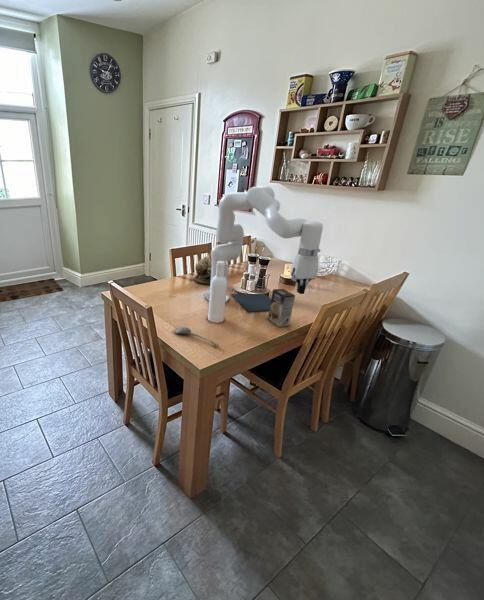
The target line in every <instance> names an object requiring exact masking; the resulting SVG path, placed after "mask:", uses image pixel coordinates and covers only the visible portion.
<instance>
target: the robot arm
mask: <svg viewBox="0 0 484 600" xmlns="http://www.w3.org/2000/svg"><path fill="white" fill-rule="evenodd" d="M252 209H254V210H256V211H257V212H258V213H259V214H260V215H262V216H263V217H264V218H265V222H266V224H267V227H268V228H269V229H270V230H271V231H272V232H273V233H274V234H276V235H277V236H278V237H280V238H281V239H292V238H299V237H300V240H299V244H298V252H297V253H296V254H295V256H294V258H293V261H292V264H291V268H290V277H291V278H290V280H291V281H292V282H295V283H296V284H297V288H296V292H297V293H298V294H299V295H304V294H305V292H306V289H307V286H308V284H309V283H310V282H312V281H315V279H316V277H317V275H318V271H319V255H318V254H319V253H321V248H320V245H321V244H320V243H321V239H322V234H323V229H324V225H323V223H322V222H320V221H314V220H313V221H312V220H311V221H310V220H308V219H305V218H293V219H286V218H285V217H284V216H282V215H281V214H280V213H279V211H280V209H281V203H280V201H279V200H277V199H276V198H275V191H274V189H273V188H272V187H271V186H268V185H260V186H252V187H250V188H249V189H248V190H247V191H242V192H230V193H227V194H224V195H223V196H222V197H221V198H220V200H219V203H218V219H217V224H216V225H217V226H216V233H215V239H216V241H217V242H218V243H220V244H217V245H215V246H213V247H212V249H211V250H210V261H212V268H211V281H212V279H213V277H215V276H216V268H217V265H216V264H217V262H218V261H223V262H225V266H224V277H225V278H226V280H227V284H228V281H229V271H230V270H229V269H230V268H229V266H228V262H230V261H234V260H237V259H238V258H239V257H240V256H241V253H242V248H243V243H244V237H245V230H244V228H243V226H242V225H241V224H240V223H237V222H235V220H236V215H235V211H246V210H252ZM210 287H211V282H210V285H209V288H210ZM227 292H228V290H227V291H226V301H225V303H228V301H229V298H230V297H229V296H228V295H227ZM200 295H201V297H204V298H206V300H208V301H209V299H210V289H209V290H207V291H206V292H205V291H204V292H201V294H200Z"/></svg>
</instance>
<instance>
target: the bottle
mask: <svg viewBox="0 0 484 600" xmlns="http://www.w3.org/2000/svg"><path fill="white" fill-rule="evenodd" d="M216 265H217V268H216V276H215V277H213V279H212V281H211V287H210V286H209V290H210V299H209V300H208V313H207V320H208V321H209V322H212V323H217V324H218V323H219V324H220V323H222V322H223V321H224V320H225V319H224V318H225V309H226V302H225V301H226V295H227V293H226V291H227V292H228V283H227V280H226V278H225V277H224V266H225V262H223V261H218V262H217V264H216Z"/></svg>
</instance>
